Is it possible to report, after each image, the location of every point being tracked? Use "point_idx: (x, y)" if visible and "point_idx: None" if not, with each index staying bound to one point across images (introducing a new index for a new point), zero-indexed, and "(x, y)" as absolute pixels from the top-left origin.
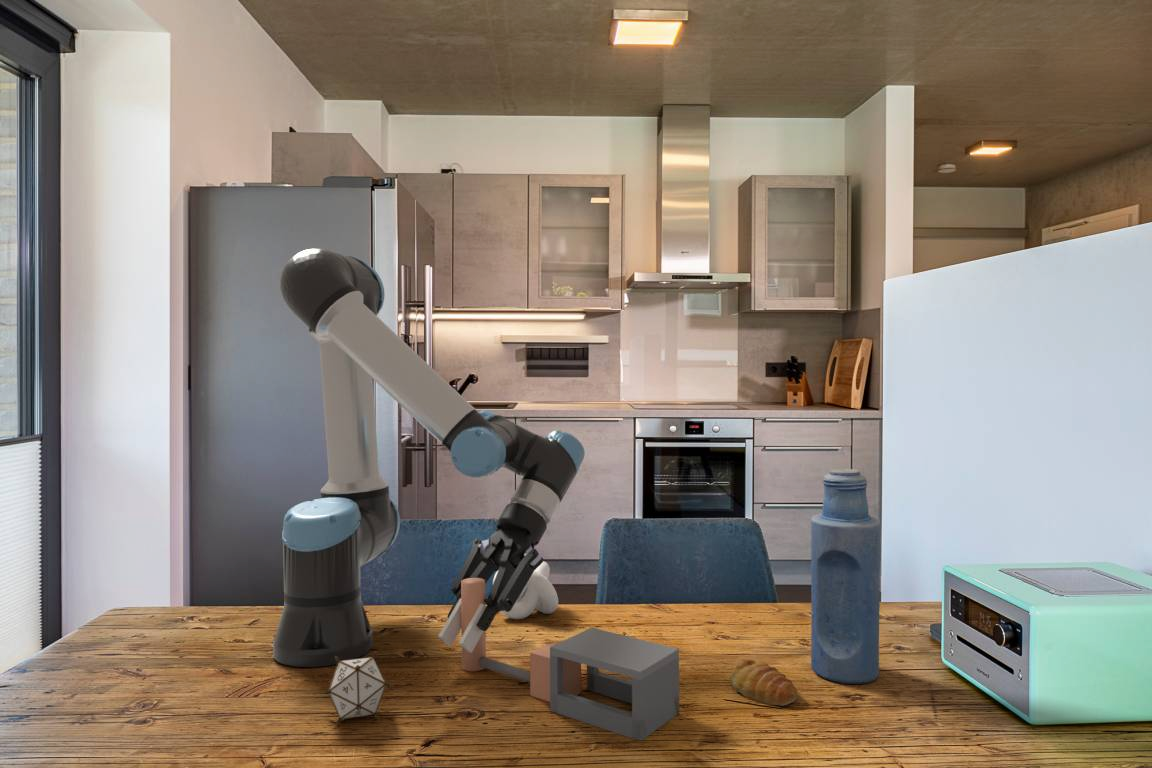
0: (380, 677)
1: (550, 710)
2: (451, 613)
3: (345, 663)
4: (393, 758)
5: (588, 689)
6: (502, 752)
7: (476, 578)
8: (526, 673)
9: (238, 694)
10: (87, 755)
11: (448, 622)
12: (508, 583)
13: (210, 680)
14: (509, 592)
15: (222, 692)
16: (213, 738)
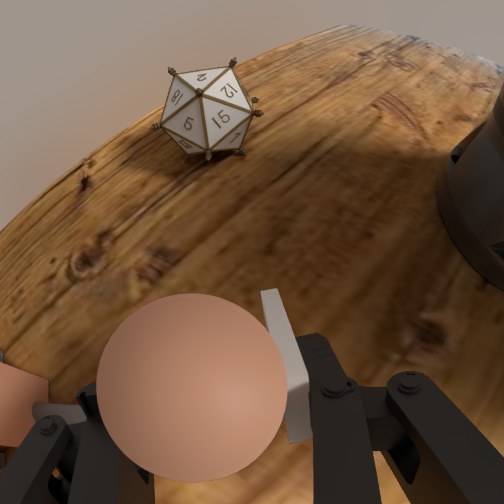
0: (168, 114)
1: (2, 352)
2: (290, 329)
3: (211, 68)
4: (98, 147)
5: (1, 452)
6: (8, 233)
7: (229, 456)
8: (62, 408)
9: (388, 99)
10: (319, 34)
11: (273, 313)
12: (17, 498)
13: (442, 102)
14: (13, 460)
15: (402, 94)
16: (286, 65)
